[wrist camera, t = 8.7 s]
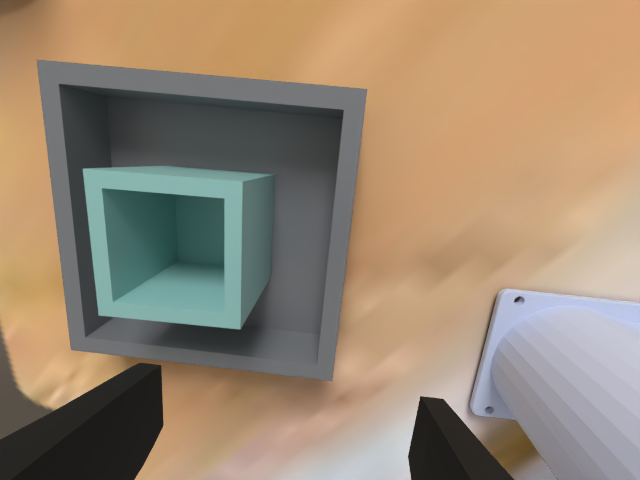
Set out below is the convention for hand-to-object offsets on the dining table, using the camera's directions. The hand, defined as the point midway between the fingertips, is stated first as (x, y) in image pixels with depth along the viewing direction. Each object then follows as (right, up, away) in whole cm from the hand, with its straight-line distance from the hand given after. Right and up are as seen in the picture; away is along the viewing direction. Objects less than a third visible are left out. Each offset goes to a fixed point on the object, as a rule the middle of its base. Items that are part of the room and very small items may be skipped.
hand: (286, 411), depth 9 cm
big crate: (-4, +6, +9) cm, 11 cm away
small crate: (-4, +6, +8) cm, 10 cm away
